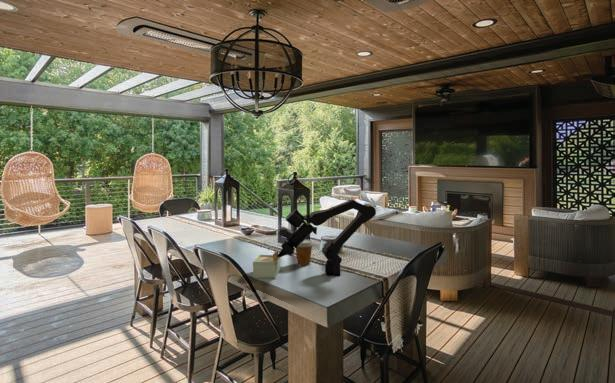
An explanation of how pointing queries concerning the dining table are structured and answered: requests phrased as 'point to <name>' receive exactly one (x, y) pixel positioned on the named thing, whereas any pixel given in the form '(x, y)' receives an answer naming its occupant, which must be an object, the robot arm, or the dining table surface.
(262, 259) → the lid
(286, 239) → the robot arm
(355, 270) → the dining table surface
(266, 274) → the box
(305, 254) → the disposable coffee cup
